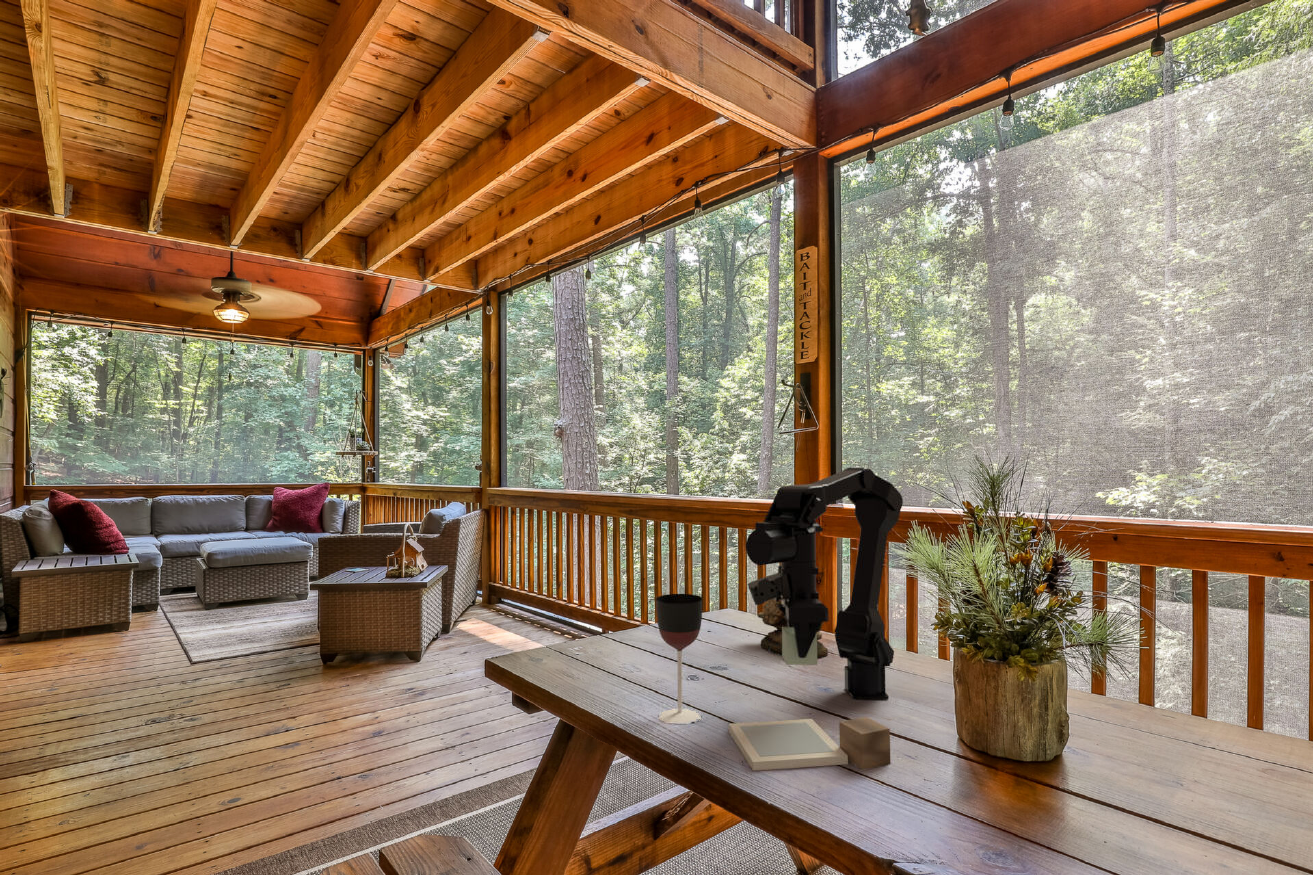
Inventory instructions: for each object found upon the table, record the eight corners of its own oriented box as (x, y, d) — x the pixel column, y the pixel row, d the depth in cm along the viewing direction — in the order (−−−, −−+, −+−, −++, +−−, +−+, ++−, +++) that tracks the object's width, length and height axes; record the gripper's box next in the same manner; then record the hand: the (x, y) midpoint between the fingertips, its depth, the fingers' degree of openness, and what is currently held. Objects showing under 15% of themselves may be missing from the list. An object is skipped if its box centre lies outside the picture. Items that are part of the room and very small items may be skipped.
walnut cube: (866, 750, 100) (866, 716, 100) (890, 764, 95) (889, 728, 95) (839, 756, 98) (839, 721, 98) (862, 770, 93) (861, 734, 93)
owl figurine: (745, 647, 157) (744, 574, 158) (774, 638, 165) (773, 569, 166) (811, 662, 144) (809, 583, 145) (839, 652, 152) (838, 577, 153)
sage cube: (811, 656, 114) (811, 627, 114) (817, 665, 109) (816, 634, 109) (782, 656, 114) (782, 626, 115) (786, 664, 109) (786, 634, 110)
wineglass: (707, 709, 117) (706, 595, 117) (697, 728, 108) (696, 604, 109) (664, 705, 119) (663, 592, 120) (650, 723, 110) (650, 602, 111)
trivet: (811, 726, 109) (811, 718, 109) (847, 764, 95) (847, 755, 95) (728, 731, 107) (728, 723, 107) (753, 770, 93) (753, 761, 93)
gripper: (745, 552, 122) (746, 638, 121) (756, 567, 104) (757, 669, 103) (806, 553, 122) (807, 639, 121) (828, 568, 103) (829, 670, 102)
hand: (799, 653), depth 112 cm, fingers closed on sage cube, 5 cm apart
